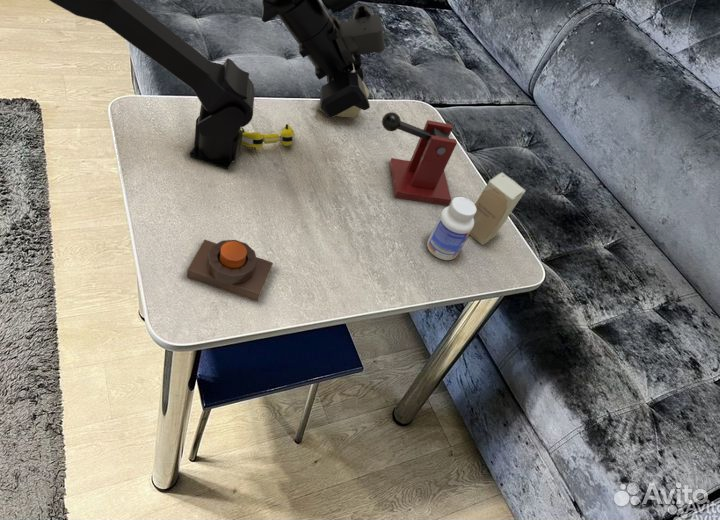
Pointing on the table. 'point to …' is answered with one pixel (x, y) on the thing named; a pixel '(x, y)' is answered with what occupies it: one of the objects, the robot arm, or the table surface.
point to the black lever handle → (408, 127)
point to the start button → (233, 254)
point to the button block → (230, 271)
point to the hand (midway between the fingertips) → (367, 107)
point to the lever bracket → (425, 168)
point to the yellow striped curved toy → (267, 138)
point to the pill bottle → (452, 229)
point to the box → (495, 207)
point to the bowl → (353, 110)
